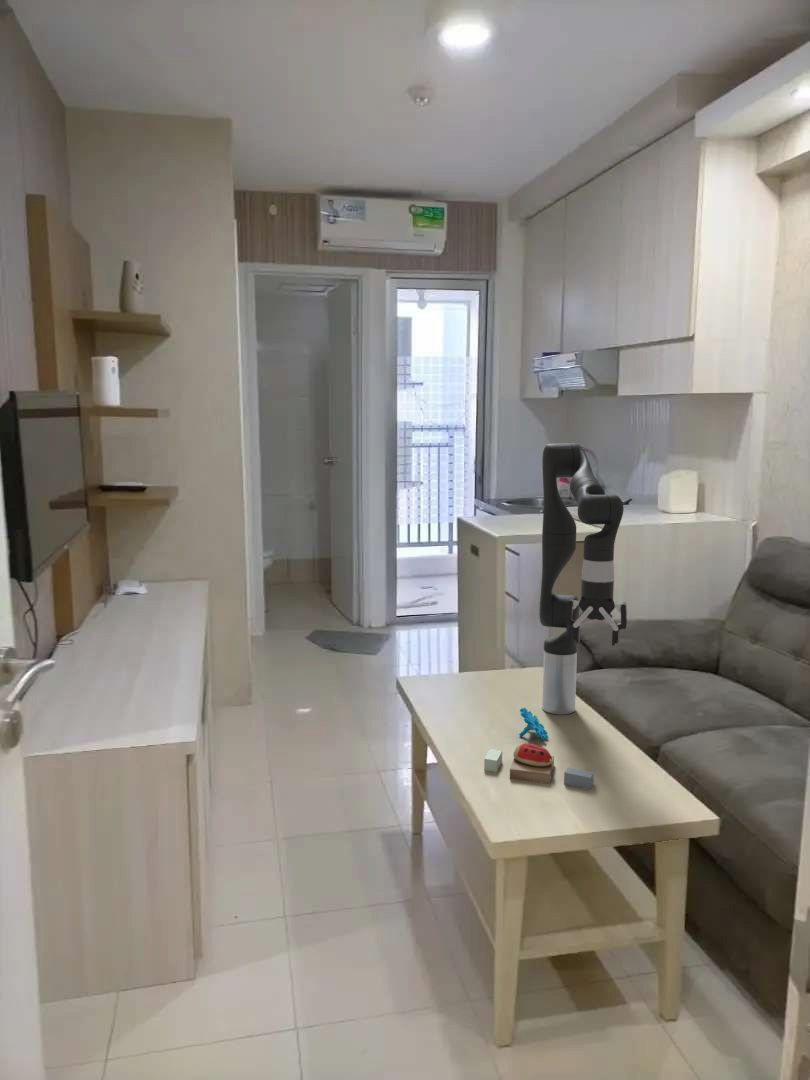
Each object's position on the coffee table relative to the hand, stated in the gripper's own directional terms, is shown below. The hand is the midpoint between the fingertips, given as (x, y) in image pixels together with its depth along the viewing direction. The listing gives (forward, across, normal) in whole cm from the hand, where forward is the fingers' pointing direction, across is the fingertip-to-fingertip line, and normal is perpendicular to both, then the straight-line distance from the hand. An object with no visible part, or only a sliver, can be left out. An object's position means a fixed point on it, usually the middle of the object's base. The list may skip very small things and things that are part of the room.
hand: (595, 643), depth 193 cm
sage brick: (+28, +22, +15) cm, 38 cm away
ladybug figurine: (+26, +12, +14) cm, 32 cm away
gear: (+28, +15, -6) cm, 33 cm away
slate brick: (+28, +1, +18) cm, 34 cm away
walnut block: (+29, +12, +15) cm, 35 cm away
